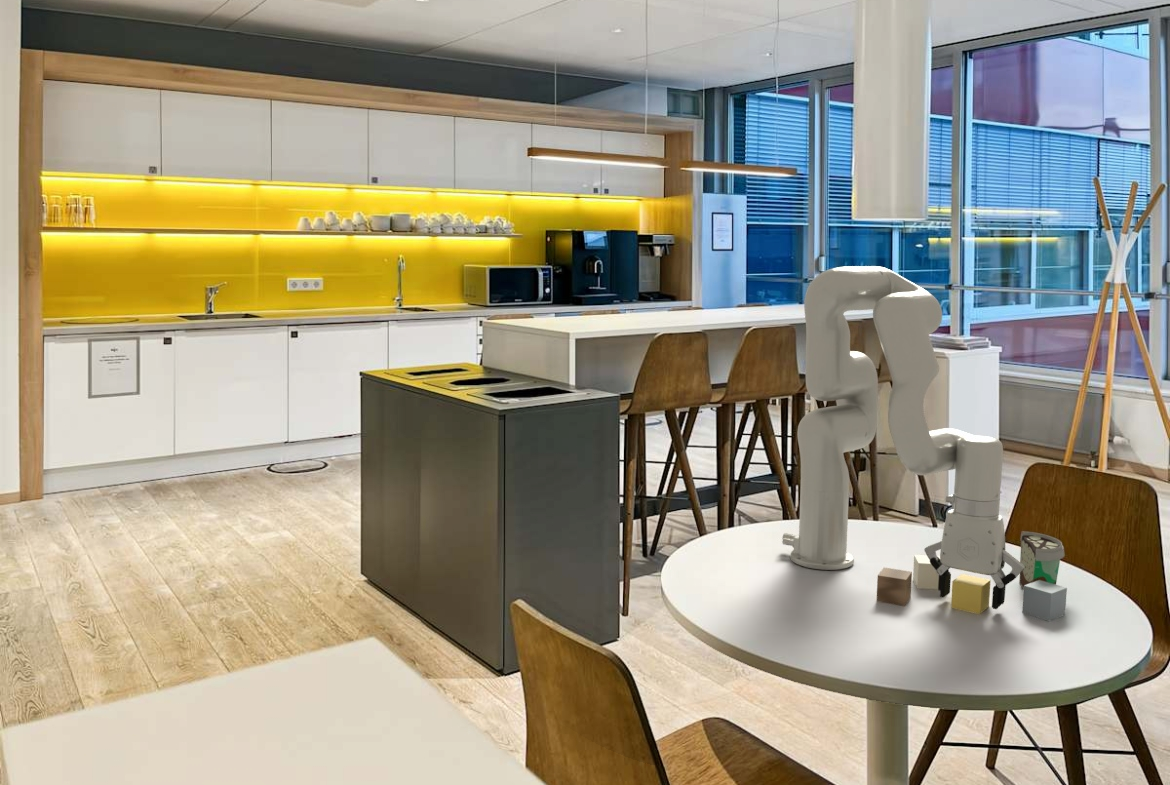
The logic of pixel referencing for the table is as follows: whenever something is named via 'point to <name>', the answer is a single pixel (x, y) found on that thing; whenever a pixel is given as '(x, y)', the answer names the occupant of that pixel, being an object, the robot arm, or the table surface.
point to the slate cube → (1044, 600)
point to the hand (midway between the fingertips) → (970, 600)
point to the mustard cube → (970, 593)
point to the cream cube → (924, 573)
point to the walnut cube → (894, 586)
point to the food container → (1039, 558)
